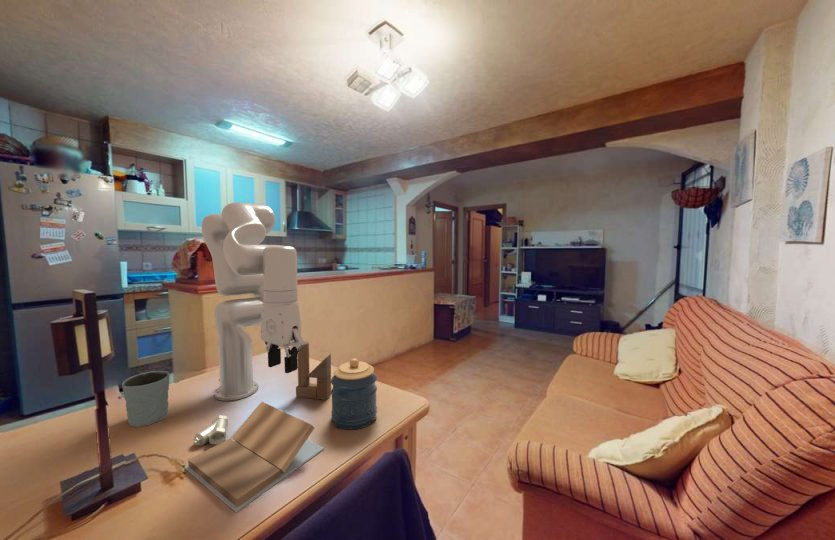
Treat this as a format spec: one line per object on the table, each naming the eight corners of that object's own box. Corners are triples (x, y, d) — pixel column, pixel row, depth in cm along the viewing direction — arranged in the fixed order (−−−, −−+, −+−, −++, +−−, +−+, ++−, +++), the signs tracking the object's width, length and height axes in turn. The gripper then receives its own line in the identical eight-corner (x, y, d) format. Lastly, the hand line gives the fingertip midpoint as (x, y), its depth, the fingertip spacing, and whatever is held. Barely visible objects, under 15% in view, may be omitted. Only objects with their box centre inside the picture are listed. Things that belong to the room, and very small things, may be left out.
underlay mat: (184, 468, 68) (184, 467, 68) (272, 422, 86) (272, 421, 86) (236, 512, 57) (236, 510, 57) (323, 449, 75) (323, 447, 75)
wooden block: (327, 400, 99) (326, 345, 97) (295, 397, 100) (294, 344, 99) (331, 394, 102) (331, 342, 101) (301, 392, 104) (300, 340, 102)
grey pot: (162, 405, 94) (159, 368, 93) (178, 414, 89) (176, 375, 88) (118, 422, 85) (115, 380, 84) (134, 433, 81) (131, 389, 80)
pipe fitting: (193, 453, 74) (226, 442, 77) (191, 438, 74) (224, 428, 77) (198, 434, 81) (228, 426, 84) (196, 421, 81) (226, 412, 84)
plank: (234, 440, 77) (230, 437, 76) (265, 404, 83) (261, 401, 82) (284, 472, 66) (280, 469, 65) (314, 428, 73) (311, 424, 72)
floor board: (188, 466, 68) (188, 459, 68) (230, 444, 76) (230, 438, 76) (237, 507, 58) (237, 499, 58) (280, 476, 65) (280, 469, 65)
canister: (357, 436, 80) (356, 371, 79) (321, 422, 87) (320, 361, 85) (385, 413, 92) (385, 355, 90) (352, 401, 98) (352, 348, 96)
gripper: (245, 295, 76) (248, 365, 77) (290, 302, 67) (291, 382, 68) (273, 291, 82) (275, 356, 84) (317, 298, 73) (318, 370, 75)
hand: (282, 367), depth 76 cm, fingers open, 5 cm apart
